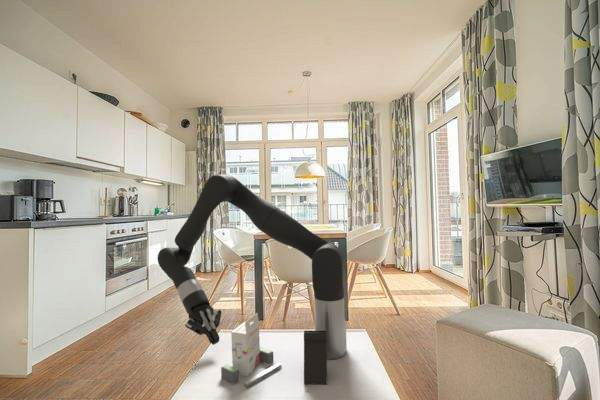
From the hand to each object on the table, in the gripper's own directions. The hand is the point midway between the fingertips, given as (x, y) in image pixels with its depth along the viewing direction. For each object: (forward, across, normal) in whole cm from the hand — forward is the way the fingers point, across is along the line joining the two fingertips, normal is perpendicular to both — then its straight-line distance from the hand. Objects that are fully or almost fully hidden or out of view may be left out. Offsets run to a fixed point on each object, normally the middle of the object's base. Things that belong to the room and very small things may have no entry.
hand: (216, 342), depth 104 cm
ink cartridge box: (+12, +1, -6) cm, 14 cm away
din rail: (+17, 0, -12) cm, 21 cm away
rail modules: (+13, 0, -7) cm, 15 cm away
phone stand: (+25, +9, -19) cm, 33 cm away
